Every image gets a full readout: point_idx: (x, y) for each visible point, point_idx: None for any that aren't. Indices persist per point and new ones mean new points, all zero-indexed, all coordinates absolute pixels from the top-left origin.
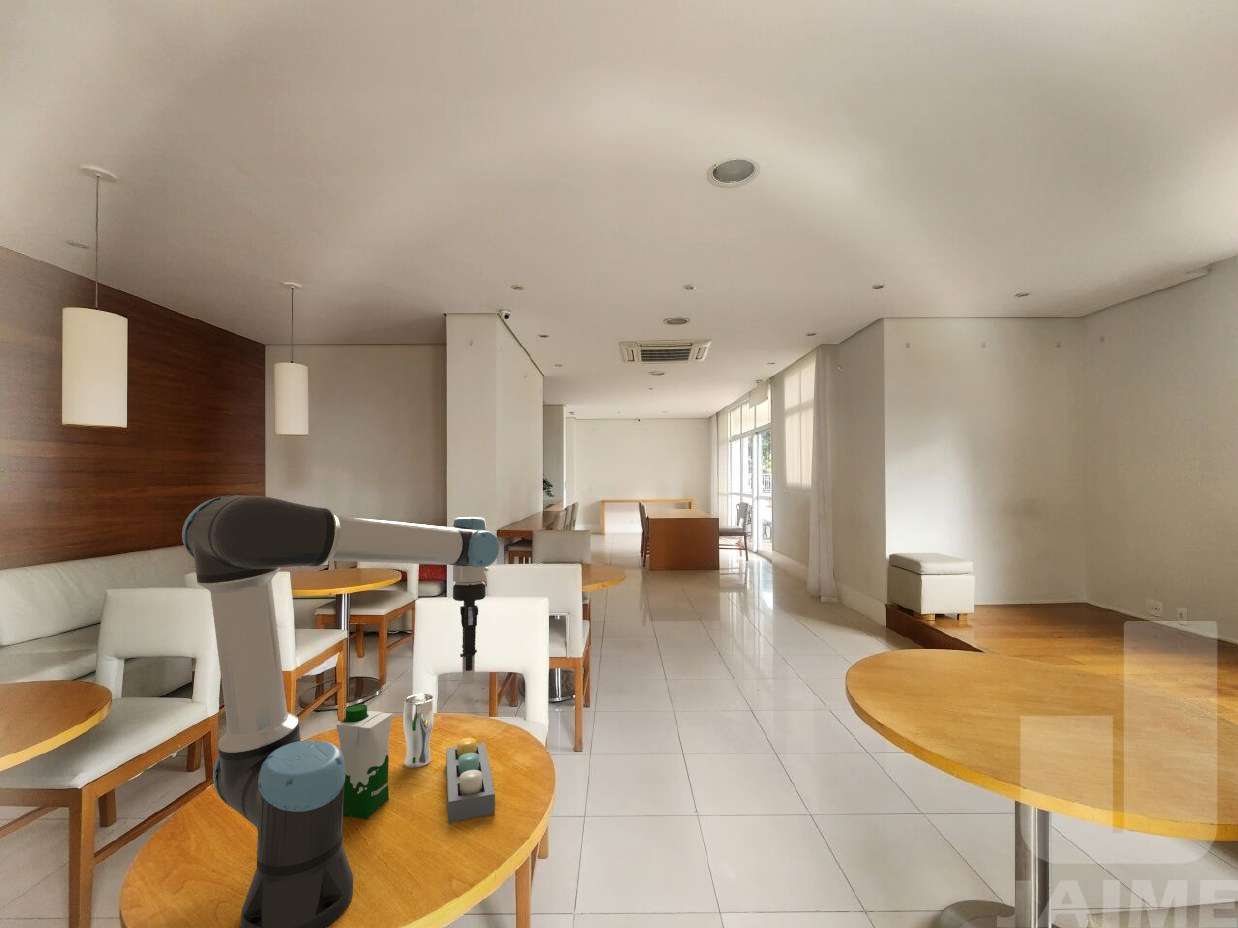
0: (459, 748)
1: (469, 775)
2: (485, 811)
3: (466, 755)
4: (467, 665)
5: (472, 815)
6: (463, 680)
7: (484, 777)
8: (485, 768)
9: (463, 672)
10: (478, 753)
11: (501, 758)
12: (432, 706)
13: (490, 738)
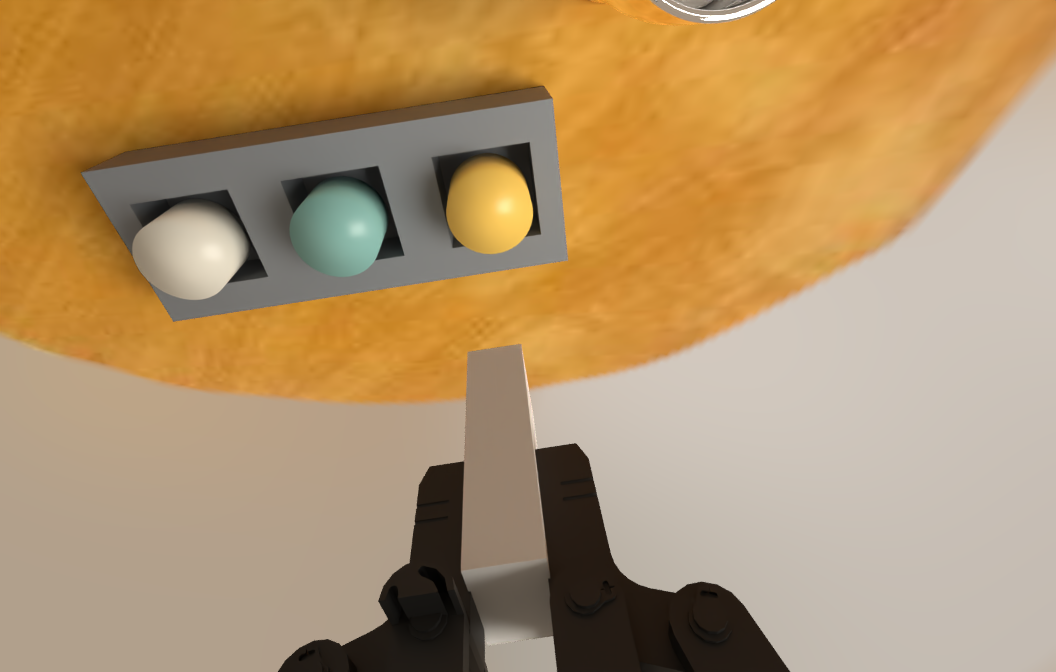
0: (458, 180)
1: (176, 257)
2: None
3: (354, 226)
4: (419, 523)
5: None
6: (470, 377)
7: (283, 280)
8: (351, 278)
9: (465, 427)
10: None
11: (555, 286)
12: (665, 21)
13: (726, 240)
